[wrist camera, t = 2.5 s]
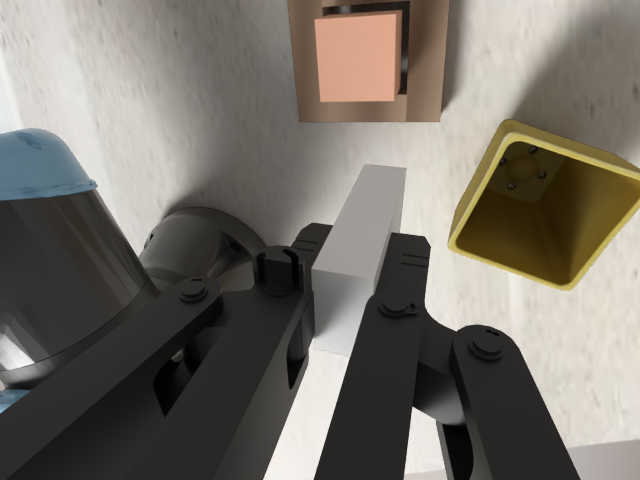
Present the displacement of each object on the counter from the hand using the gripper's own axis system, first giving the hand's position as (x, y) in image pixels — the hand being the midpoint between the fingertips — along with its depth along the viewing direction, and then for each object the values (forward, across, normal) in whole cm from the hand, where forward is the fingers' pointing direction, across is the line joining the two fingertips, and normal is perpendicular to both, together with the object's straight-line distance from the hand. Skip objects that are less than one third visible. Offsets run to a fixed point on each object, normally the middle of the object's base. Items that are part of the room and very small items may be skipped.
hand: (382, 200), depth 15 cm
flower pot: (+20, +8, -6) cm, 23 cm away
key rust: (+18, -4, +2) cm, 19 cm away
